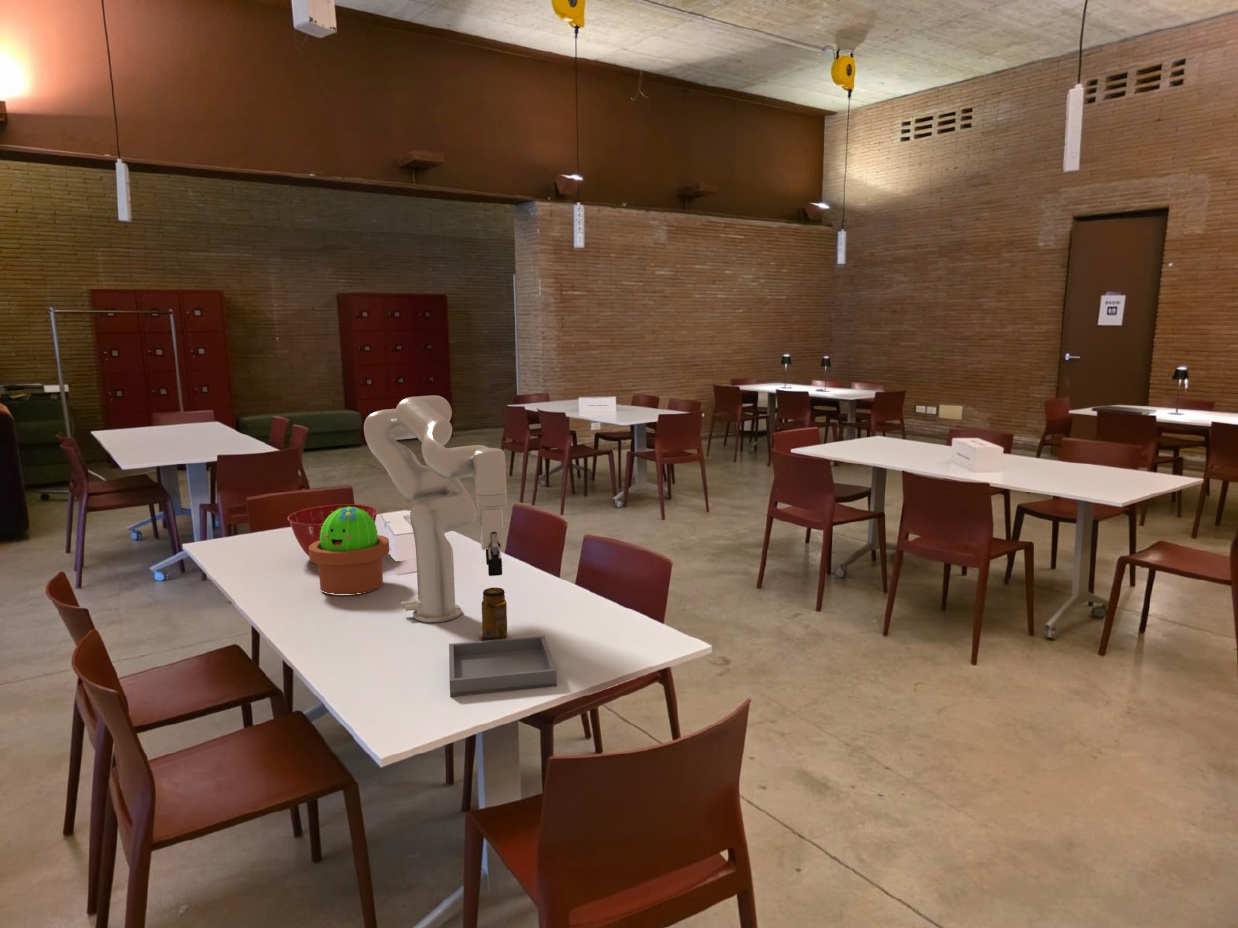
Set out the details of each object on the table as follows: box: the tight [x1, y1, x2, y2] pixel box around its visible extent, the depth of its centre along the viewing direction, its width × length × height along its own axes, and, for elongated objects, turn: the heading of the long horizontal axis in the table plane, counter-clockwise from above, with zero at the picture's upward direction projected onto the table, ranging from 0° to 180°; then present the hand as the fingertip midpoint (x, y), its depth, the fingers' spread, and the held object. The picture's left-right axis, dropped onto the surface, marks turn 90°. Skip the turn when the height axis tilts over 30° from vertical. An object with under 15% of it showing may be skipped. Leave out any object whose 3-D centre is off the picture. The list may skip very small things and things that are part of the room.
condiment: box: [477, 587, 512, 641], centre depth 188 cm, size 7×8×12 cm
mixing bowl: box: [287, 503, 379, 557], centre depth 259 cm, size 28×28×16 cm
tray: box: [448, 635, 558, 698], centre depth 169 cm, size 22×20×4 cm
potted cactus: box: [308, 506, 390, 594], centre depth 227 cm, size 22×22×25 cm
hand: (494, 569), depth 186 cm, fingers open, 9 cm apart
